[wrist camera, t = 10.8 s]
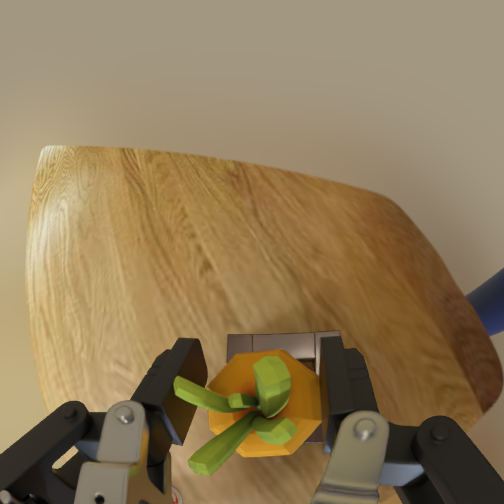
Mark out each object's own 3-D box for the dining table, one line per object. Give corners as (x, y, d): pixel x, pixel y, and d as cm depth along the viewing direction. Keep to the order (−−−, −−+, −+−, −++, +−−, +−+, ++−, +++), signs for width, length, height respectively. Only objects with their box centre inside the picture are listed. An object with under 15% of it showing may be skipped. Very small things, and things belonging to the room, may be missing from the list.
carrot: (265, 435, 17) (198, 524, 4) (236, 381, 20) (120, 367, 6) (324, 405, 18) (382, 450, 5) (293, 351, 20) (282, 284, 7)
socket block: (335, 336, 28) (340, 330, 25) (336, 433, 24) (341, 440, 20) (236, 340, 30) (227, 334, 27) (234, 434, 25) (224, 441, 22)
